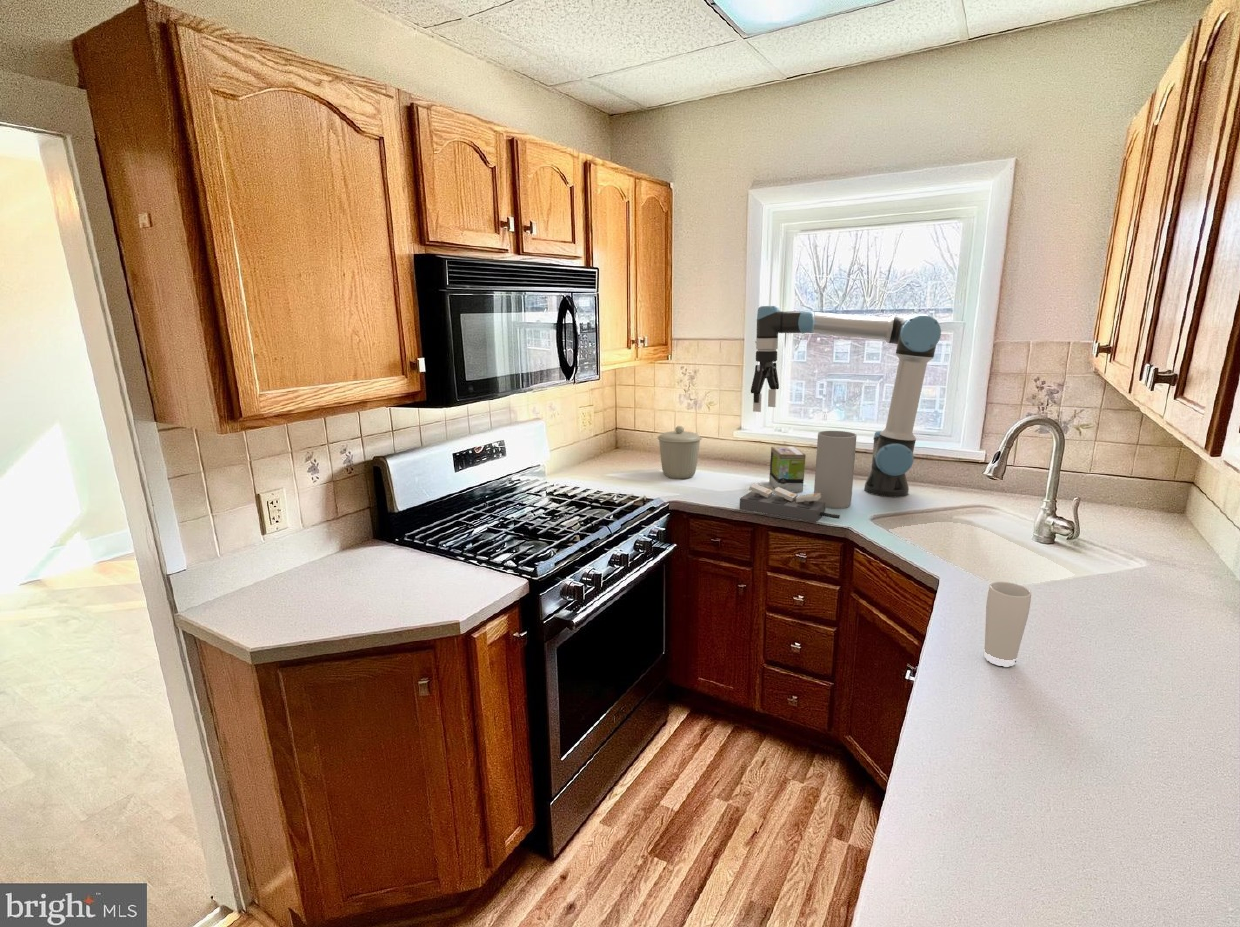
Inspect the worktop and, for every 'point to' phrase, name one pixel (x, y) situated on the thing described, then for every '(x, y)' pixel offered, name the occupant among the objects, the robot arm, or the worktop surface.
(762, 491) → the rocker
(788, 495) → the rocker
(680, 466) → the canister
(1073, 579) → the worktop surface
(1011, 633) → the drinking glass
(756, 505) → the power strip
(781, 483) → the tea box
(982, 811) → the worktop surface
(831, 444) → the cylinder vase
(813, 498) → the rocker
